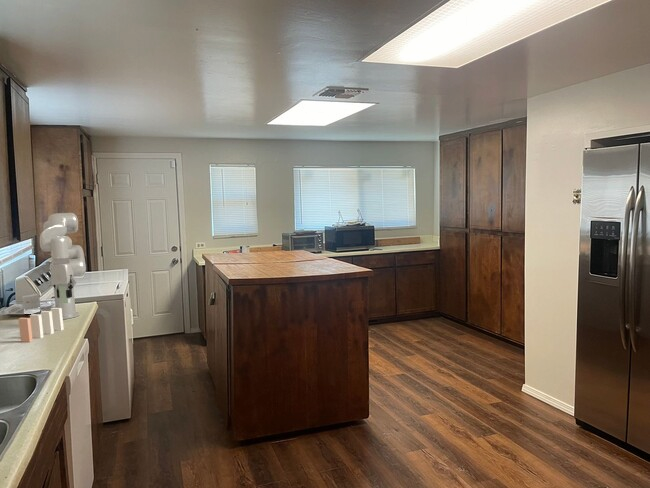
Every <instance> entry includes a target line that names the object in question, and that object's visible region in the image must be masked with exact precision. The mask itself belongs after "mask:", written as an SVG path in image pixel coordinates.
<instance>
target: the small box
mask: <svg viewBox="0 0 650 488" xmlns="http://www.w3.org/2000/svg"><path fill="white" fill-rule="evenodd" d="M20 298H21V306H22V310H23V309H25V310H27V309H33V308H38V307H41V300H40V299H41V298H40V295H39V294H38V293H33V294H27V295H22V296H20Z"/></svg>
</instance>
